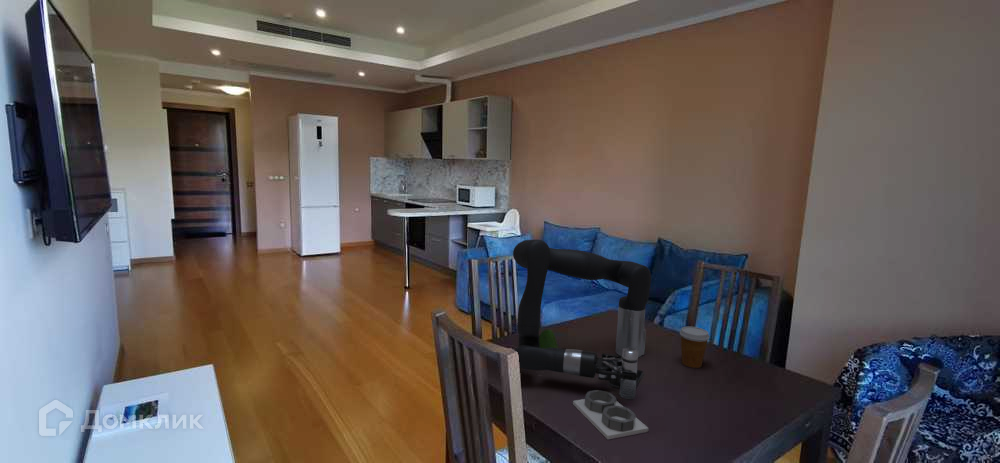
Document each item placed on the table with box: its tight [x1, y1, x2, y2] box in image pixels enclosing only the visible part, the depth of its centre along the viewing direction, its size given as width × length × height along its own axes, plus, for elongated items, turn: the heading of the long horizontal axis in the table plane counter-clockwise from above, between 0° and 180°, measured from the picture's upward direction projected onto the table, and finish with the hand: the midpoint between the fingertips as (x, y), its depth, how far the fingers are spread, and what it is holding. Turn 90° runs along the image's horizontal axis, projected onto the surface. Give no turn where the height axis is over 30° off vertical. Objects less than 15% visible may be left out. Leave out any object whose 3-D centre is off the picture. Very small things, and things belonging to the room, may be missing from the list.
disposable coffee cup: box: [679, 326, 710, 369], centre depth 163 cm, size 10×10×12 cm
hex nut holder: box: [572, 389, 649, 440], centre depth 127 cm, size 12×18×4 cm, turn 19°
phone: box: [608, 367, 645, 390], centre depth 150 cm, size 8×1×15 cm
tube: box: [619, 348, 639, 400], centre depth 139 cm, size 4×4×14 cm
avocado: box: [539, 328, 559, 349], centre depth 160 cm, size 8×8×12 cm
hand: (636, 370), depth 138 cm, fingers open, 7 cm apart
